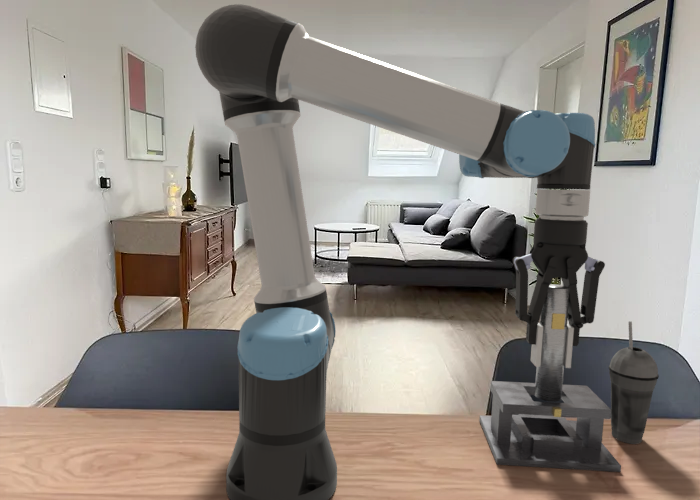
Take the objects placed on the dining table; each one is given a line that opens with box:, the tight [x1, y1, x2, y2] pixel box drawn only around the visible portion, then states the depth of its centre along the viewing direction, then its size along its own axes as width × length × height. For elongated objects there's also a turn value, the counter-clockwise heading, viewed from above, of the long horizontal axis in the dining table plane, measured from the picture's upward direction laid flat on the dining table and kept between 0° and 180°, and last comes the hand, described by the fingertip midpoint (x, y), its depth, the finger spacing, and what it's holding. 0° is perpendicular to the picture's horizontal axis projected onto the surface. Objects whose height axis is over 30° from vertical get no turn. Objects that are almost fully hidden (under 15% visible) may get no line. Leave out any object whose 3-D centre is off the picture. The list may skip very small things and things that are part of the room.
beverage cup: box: [608, 321, 660, 445], centre depth 82 cm, size 7×7×20 cm
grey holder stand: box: [478, 380, 622, 473], centre depth 80 cm, size 18×14×8 cm
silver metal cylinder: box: [534, 283, 569, 403], centre depth 78 cm, size 4×4×18 cm
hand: (550, 363), depth 78 cm, fingers closed on silver metal cylinder, 4 cm apart
